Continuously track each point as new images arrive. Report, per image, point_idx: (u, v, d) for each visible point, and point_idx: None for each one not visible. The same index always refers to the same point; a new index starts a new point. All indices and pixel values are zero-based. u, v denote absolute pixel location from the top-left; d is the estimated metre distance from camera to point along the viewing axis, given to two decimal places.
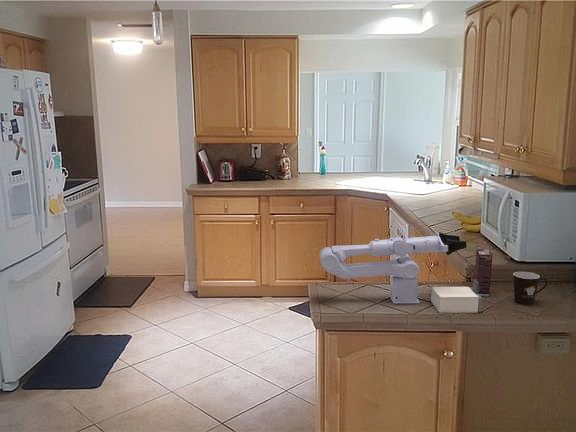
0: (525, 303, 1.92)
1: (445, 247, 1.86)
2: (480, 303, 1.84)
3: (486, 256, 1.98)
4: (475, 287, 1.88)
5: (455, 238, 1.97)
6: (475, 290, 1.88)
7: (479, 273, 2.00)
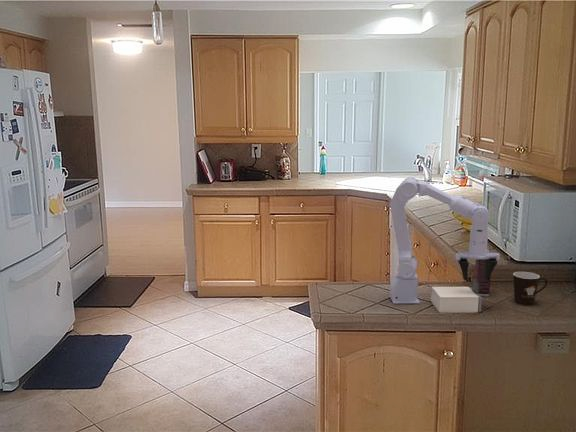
0: (525, 303, 1.92)
1: (456, 257, 1.87)
2: (480, 303, 1.84)
3: None
4: (475, 287, 1.88)
5: (487, 275, 1.88)
6: (475, 290, 1.88)
7: (479, 273, 2.00)
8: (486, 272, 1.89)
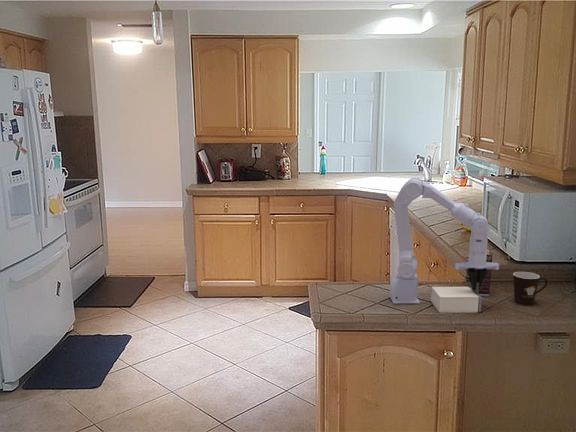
0: (525, 303, 1.92)
1: (456, 267, 1.87)
2: (480, 303, 1.84)
3: (486, 256, 1.98)
4: None
5: None
6: (475, 290, 1.88)
7: None
8: None
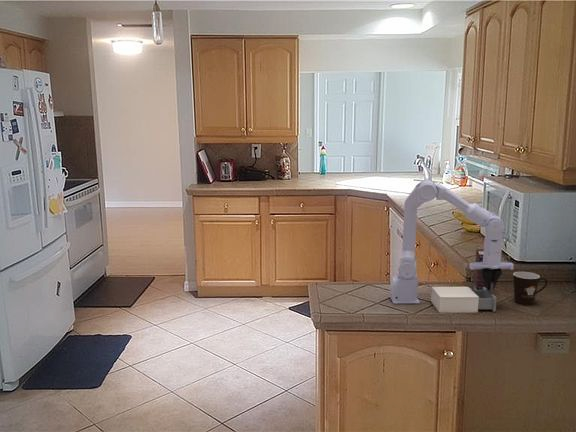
0: (525, 303, 1.92)
1: (470, 266, 1.87)
2: (495, 303, 1.84)
3: None
4: None
5: None
6: (489, 290, 1.88)
7: (479, 273, 2.00)
8: None
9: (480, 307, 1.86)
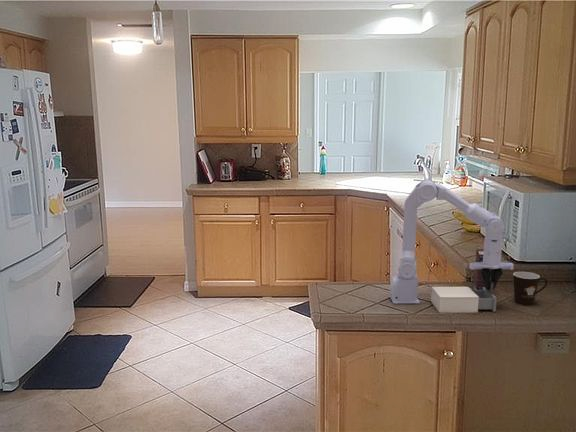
0: (525, 303, 1.92)
1: (470, 266, 1.87)
2: (495, 303, 1.84)
3: None
4: None
5: None
6: (489, 290, 1.88)
7: (479, 273, 2.00)
8: None
9: (480, 307, 1.86)
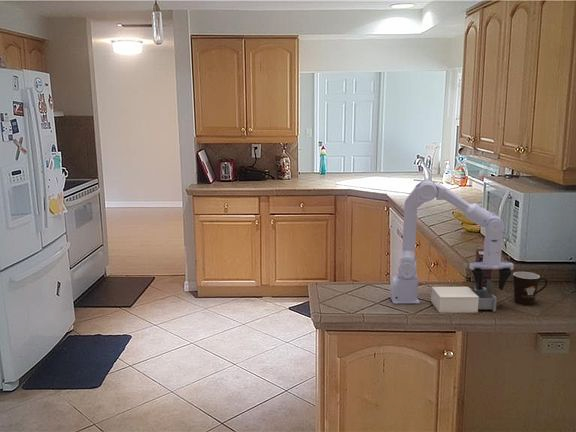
0: (525, 303, 1.92)
1: (470, 266, 1.87)
2: (495, 303, 1.84)
3: None
4: (489, 287, 1.88)
5: (500, 285, 1.89)
6: (489, 290, 1.88)
7: None
8: (500, 282, 1.89)
9: (480, 307, 1.86)
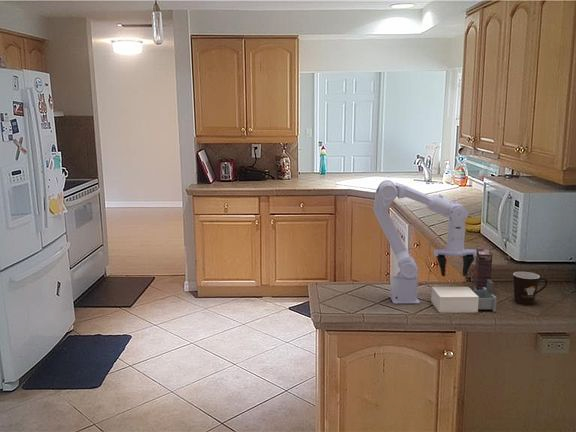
0: (525, 303, 1.92)
1: (434, 253, 1.91)
2: (495, 303, 1.84)
3: (486, 256, 1.98)
4: (489, 287, 1.88)
5: (464, 271, 1.93)
6: (489, 290, 1.88)
7: (479, 273, 2.00)
8: (463, 268, 1.94)
9: (480, 307, 1.86)
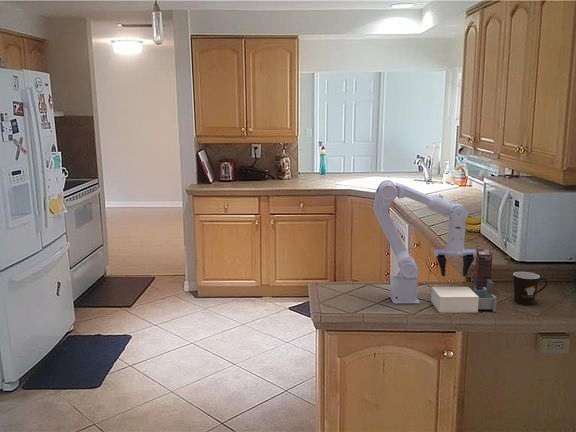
0: (525, 303, 1.92)
1: (434, 253, 1.91)
2: (495, 303, 1.84)
3: (486, 256, 1.98)
4: (489, 287, 1.88)
5: (464, 271, 1.93)
6: (489, 290, 1.88)
7: (479, 273, 2.00)
8: (463, 268, 1.94)
9: (480, 307, 1.86)
